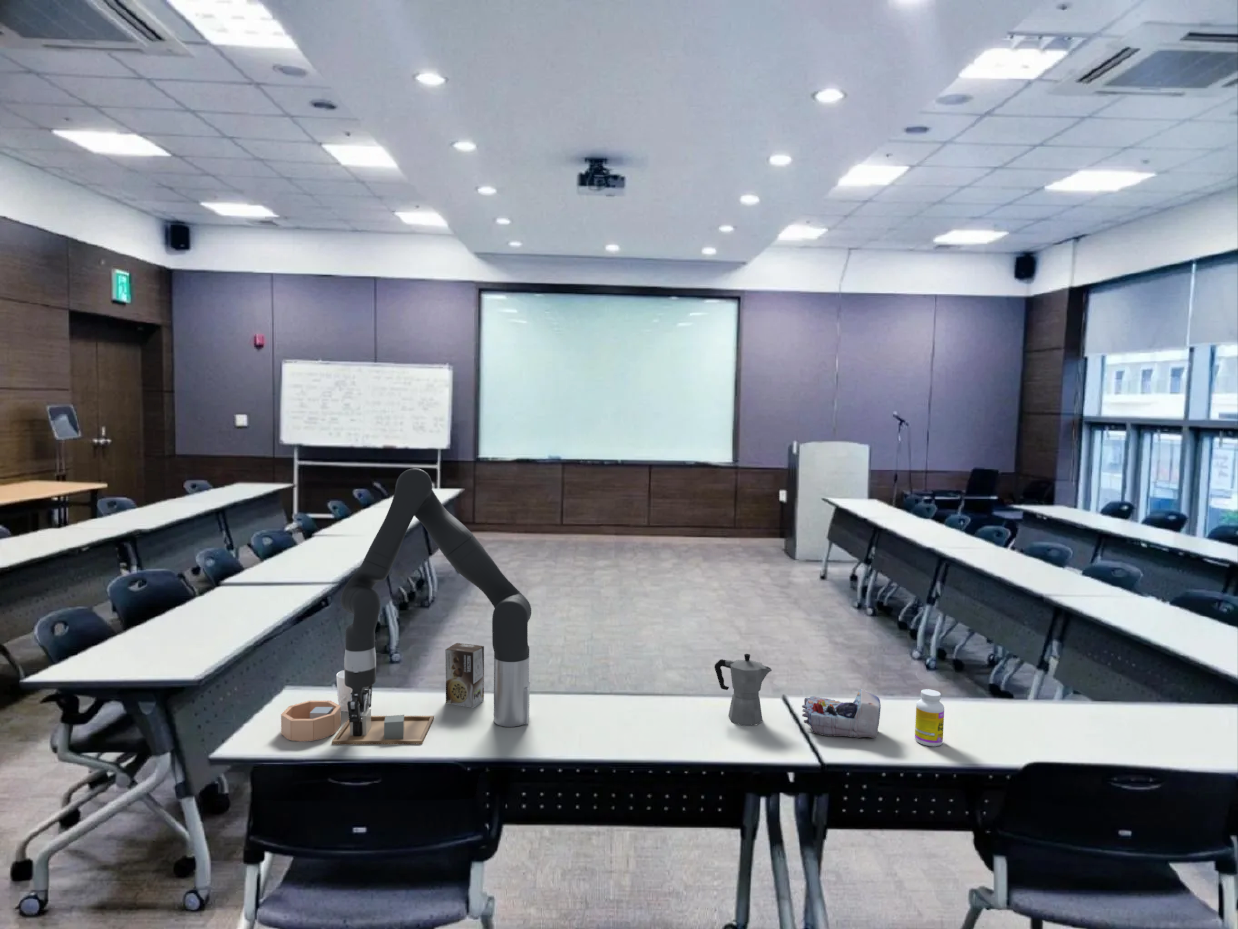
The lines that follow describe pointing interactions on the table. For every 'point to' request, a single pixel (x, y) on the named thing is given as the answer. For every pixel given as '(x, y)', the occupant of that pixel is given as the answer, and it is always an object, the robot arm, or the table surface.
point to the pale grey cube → (364, 722)
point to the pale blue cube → (320, 712)
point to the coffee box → (464, 674)
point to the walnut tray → (413, 732)
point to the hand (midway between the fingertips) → (360, 731)
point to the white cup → (343, 691)
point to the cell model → (844, 715)
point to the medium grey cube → (394, 727)
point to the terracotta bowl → (309, 721)
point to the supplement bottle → (929, 718)
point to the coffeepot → (744, 689)
